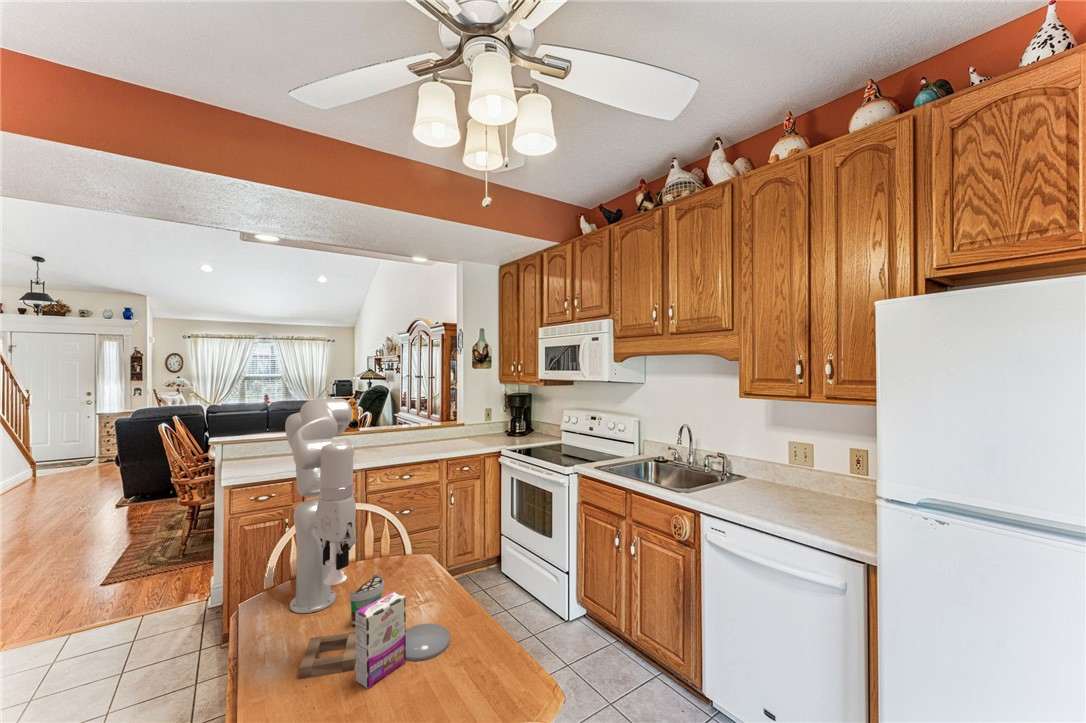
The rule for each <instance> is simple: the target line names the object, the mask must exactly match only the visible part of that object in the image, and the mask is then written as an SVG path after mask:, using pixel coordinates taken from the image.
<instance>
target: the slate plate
mask: <svg viewBox="0 0 1086 723" xmlns="http://www.w3.org/2000/svg"><path fill="white" fill-rule="evenodd" d="M450 639H451V634H450V632H449V630H448V629H447V628H446V627H445V626H443V625H439V624H435V623H422V624H417V625H413V626H410V627H408V628H406V661H410V662H421V661H426V660H427V661H428V660H431V659H433V658H435V657H438V656H439V655H441V654H443V653H444V651H446V649H447V648H448V647H449V645H450V642H451V640H450Z"/></svg>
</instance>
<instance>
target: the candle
mask: <svg viewBox="0 0 1086 723" xmlns="http://www.w3.org/2000/svg"><path fill="white" fill-rule="evenodd" d="M337 553H338V548H337V543H333V542H330V559H329V560H327V561H326V562H325V564H326V565H328V566H331V570H330V572H329V573H328V574H327V578H326V579H325V580H324V581H323V582H324V584H326V585H331V586H336V585H340V584H342V583H344V582H345V581H346V580H347V579H348V576H347V575H345V573H344V571H343V570H342V569H340V570H336V554H337Z"/></svg>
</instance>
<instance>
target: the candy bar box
mask: <svg viewBox="0 0 1086 723" xmlns="http://www.w3.org/2000/svg"><path fill="white" fill-rule="evenodd" d="M406 606H407V605H406V595H403V594H401V593H397V592H396V591H392V592H390V593H388V594H387V595H384V596H382V597H381V598H380V599H378V600H377V601H375V602H373V603H371V604H369V605H367V606H365V607H363V608H362V609H360V610H358V611H356V612H355V627H354V628H355V629H354V630H355V631H354V632H355V633H356V634H355V641H356V649H355V652H356V664H355V682H356V683H357V684H359V685H361V686H362V687H364V688H366V689H367V690H368V689H370V688H372V687H374V685H376V684H377V683H379V682H380V681H382V680H383V679H384V678H386V677H387V676H388V675H390V674H391V673H392V672H394V671H396V669H399V668H400V666H402V665H403V664H405V663H406V661H407V660H406V629H407V628H406V617H407V616H406V614H407V613H406V611H407V610H406Z"/></svg>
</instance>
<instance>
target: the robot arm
mask: <svg viewBox="0 0 1086 723" xmlns="http://www.w3.org/2000/svg"><path fill="white" fill-rule="evenodd" d="M352 417H353V410H352V406H351V404H350V402H349V401H348V400H346V399H344V398H321V399H320V398H318V399H317V398H315V399H311V400H307V401H306V402H305V403H303V405H302V406H301V407H300V410H299V412H296V413H293V414H290V415H289V416H288V417H287V418H286V420H285V435H286V439H287V441H288V445H289V447H290V448H291V452H292V456H293V460H294V464H295V474H296V475H295V476H296V478H295V479H296V487H297V492H298V494H299V495H300V496H301V497H303V498H312V497H319V498H313V499H309V500H305V501H303V502H300V503H299V504H298V505H297V506H296V507H295V508H294V510H293V522H294V531H295V538H296V558H295V559H296V561H295V562H296V564H295V565H296V566H295V568H296V570H295V574H296V576H295V597H294V598H293V599H292V600H291V601H290V602H289V609H290V610H291V612H294V613H297V614H309V613H310V614H311V613H316V612H319V611H322V610H324V609H327V608H328V607H330V606H331V605H332V604H334V602H335V601H336V599H337V593H336V592H335V591H334V590H332V589H331V587H332V585H326V584H324V582H323V581H324V580H325V579H326V578H327V574H328V573H329V572H330V570H331V566H328V565H326V564H325V562H326V561H327V560H329V559H330V542H333V543H337V548H338V553H337V554H336V570H340V569H341V570H342V569H344V568H347V567H348V566H349V565H350V557H349V556H350V551H351V549H352V547H353V546H354V545H356V543H357V541H358V539H357V538H356V516H357V508H356V499H355V490H354V489H355V488H354V455H355V446H354V443H353V442H352V440H351V439H349V438H346V437H335V436H340V435H341V434H343V433H344V432H345V430H346V429H347V427H348V426H349V425H350V423H351V421H352ZM343 543H344V544H343Z"/></svg>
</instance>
